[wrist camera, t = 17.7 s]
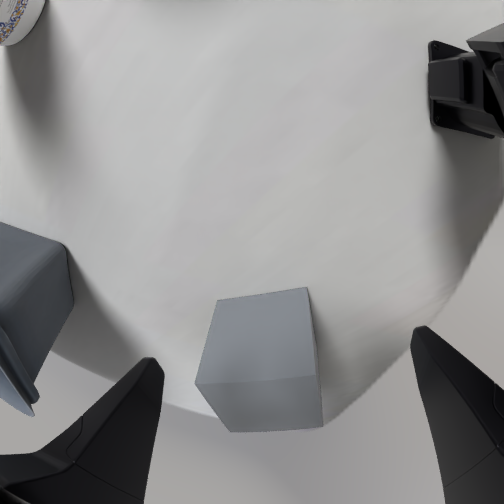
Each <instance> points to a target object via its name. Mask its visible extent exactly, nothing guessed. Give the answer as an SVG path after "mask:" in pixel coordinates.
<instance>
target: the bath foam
mask: <svg viewBox="0 0 504 504" xmlns="http://www.w3.org/2000/svg"><path fill="white" fill-rule="evenodd" d="M44 3H45V0H0V46H7V45H13V44H15V43H17V42H19V41H20V40H22V39H23V38H24V37H25V36H26V35H27V34H28V33H29V32H30V30H31V29H32V28H33V26H34V25H35V23H36V21H37V19H38V18H39V16H40V14H41V12H42V9H43V7H44Z"/></svg>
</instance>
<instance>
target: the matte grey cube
mask: <svg viewBox="0 0 504 504" xmlns="http://www.w3.org/2000/svg"><path fill="white" fill-rule="evenodd" d="M195 385H196V387H197V388H198V389H199V391H200V392H201V394H202V395H203V397H204V398H205V399H206V401H207V402H208V404H209V405H210V406H211V408H212V409H213V410H214V412H215V413H216V414H217V416H218V417H219V418H220V420H221V421H222V422H223V424H224V425H225V426H226V428H227V429H228V430H229V431H230V432H267V431H284V430H296V429H306V428H315V427H323V417H322V402H321V390H320V378H319V367H318V356H317V347H316V340H315V334H314V327H313V321H312V315H311V309H310V303H309V297H308V291H307V287H304V288H298V289H292V290H286V291H279V292H273V293H266V294H260V295H253V296H246V297H239V298H232V299H225V300H217V304H216V307H215V311H214V314H213V318H212V322H211V325H210V329H209V332H208V336H207V340H206V343H205V347H204V350H203V354H202V358H201V362H200V365H199V369H198V373H197V376H196V380H195Z"/></svg>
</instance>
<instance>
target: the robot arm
mask: <svg viewBox="0 0 504 504" xmlns="http://www.w3.org/2000/svg"><path fill="white" fill-rule="evenodd" d="M466 41H467V43H468V45H469V47H470V48H471V49H473V51H474V52H468V51H465V50H462V49H460V48H457V47H454V46H451V45H448V44H445V43H442V42H439V41H435V40H434V41H431V42H429V45H428V47H429V60H430V62H429V63H428V70H429V96H430V98H431V111H430V119H431V122H432V124H433V125H435V126H440V127H444V128H449V129H454V130H458V131H463V132H467V133H471V134H475V135H479V136H483V137H486V138H490V139H493V138H494V137H495V136H498V137H501V138H504V23H503V24H501V25H498V26H496V27H494V28H491V29H489V30H487V31H485V32H483V33H480V34H478V35H476V36H474V37H472V38H470V39H468V40H466ZM434 45H436V46H437V50H436V49H435V48H434ZM437 116H438V118H439V121H438V122H437V121H436V117H437ZM410 349H411V354H412V358H413V363H414V368H415V373H416V377H417V382H418V387H419V391H420V394H421V398H422V401H423V405H424V408H425V412H426V415H427V418H428V422H429V426H430V430H431V434H432V438H433V442H434V446H435V450H436V454H437V459H438V464H439V468H440V473H441V479H442V484H443V490H444V497H445V504H504V390H503V389H502V388H501V387H499V385H497V384H496V383H495V384H494V381H493V380H492V379H490V378H489V377H488V376H487V375H486V374H484V373H483V372H482V371H481V370H480V369H479V368H478V367H476V366H475V365H474V364H473V363H472V362H470V361H469V360H468V359H467V358H466V357H464V356H463V355H462V354H461V353H459V352H458V351H457V350H456V349H455V348H453V347H452V346H451V345H450V344H449V343H447V342H446V341H445V340H444V339H442V338H441V337H440V336H439V335H437V334H436V333H435V332H434V331H432V330H431V329H430V328H429V327H427V326H420V327H416V328H415V329H414V330H413V335H412V339H411V344H410ZM164 378H165V375H164V371H163V369H162V368H161V366H160V365H159V363H158V362H157V360H156V359H155V358H153V357H145V358H143V359H142V360H141V361H140V362H138V363H137V364H136V365H135V366H134V367H133V368H132V369H131V370H130V371H129V372H128V373H127V374H126V375H125V376H124V377H122V378H121V379H120V380H119V381H118V382H117V383H116V384H115V385H114V386H113V387H112V388H111V389H110V390H109V391H108V392H107V393H105V394H104V395H103V396H102V397H101V398H100V399H99V400H98V401H97V402H96V403H95V404H94V405H93V406H92V407H90V408H89V409H88V410H87V411H86V412H85V413H84V414H83V416H81V417H80V418H79V419H78V420H77V421H76V422H74V423H73V424H72V425H71V426H70V427H69V428H68V429H66V430H65V431H64V432H63V433H62V434H60V435H59V436H58V437H56V438H55V439H54V440H52V441H51V442H50V443H49V444H47V445H46V446H44V447H43V448H42V449H41V450H38V451H36V452H33V453H27V454H11V455H0V504H144V497H145V490H146V485H147V479H148V474H149V468H150V462H151V457H152V452H153V447H154V442H155V436H156V432H157V427H158V422H159V417H160V412H161V405H162V395H163V386H164Z"/></svg>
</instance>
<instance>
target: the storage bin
mask: <svg viewBox="0 0 504 504" xmlns="http://www.w3.org/2000/svg"><path fill="white" fill-rule="evenodd" d="M73 306H74V300H73V295H72V290H71V284H70V278H69V272H68V265H67V256H66V251H65V248H64V247H63V245H61V244H60V243H59V242H56V241H53V240H50V239H47V238H44V237H41V236H38V235H35V234H32V233H30V232H27V231H24V230H21V229H18V228H15V227H13V226H10V225H7V224H4V223H2V222H0V398H2V399H3V400H5V401H6V402H7V403H8V404H10V405H11V406H13V407H14V408H16V409H17V410H19V411H21V412H22V413H24V414H26V415H28V416H32V417H33V416H35V415H34V412H33V410H32V407H31V404H34V403H36V402H37V401H38V399H39V397H40V396H39V393H38V391H37V389H36V387H35V386H34V381H35V379H36V377H37V375H38V373H39V371H40V369H41V367H42V365H43V363H44V361H45V359H46V357H47V355H48V353H49V351H50V349H51V347H52V345H53V343H54V341H55V339H56V337H57V335H58V334H59V332H60V330H61V328H62V326H63V324H64V323H65V321H66V319H67V317H68V316H69V314H70V312H71V310H72V309H73Z"/></svg>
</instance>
